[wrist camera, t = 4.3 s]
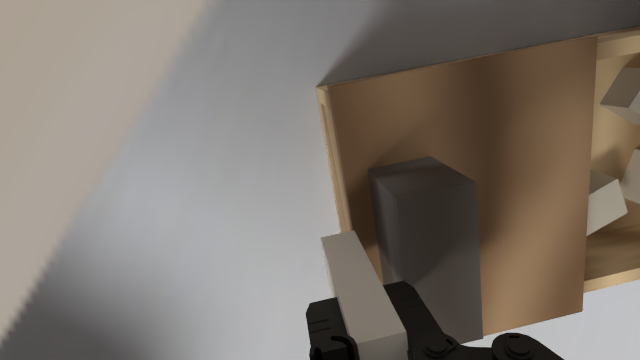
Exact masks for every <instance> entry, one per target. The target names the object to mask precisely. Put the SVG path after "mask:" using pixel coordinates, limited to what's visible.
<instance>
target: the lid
mask: <svg viewBox="0 0 640 360" xmlns="http://www.w3.org/2000/svg"><path fill="white" fill-rule="evenodd" d="M597 41H598V36H591V37H581V38H576V39H571V40H565V41H560V42H555V43H550V44H544V45H539V46H534V47H528V48H523V49H518V50H513V51H507V52H502V53H497V54H491V55H486V56H481V57H476V58H470V59H465V60H460V61H454V62H449V63H444V64H439V65H433V66H428V67H423V68H417V69H412V70H407V71H401V72H396V73H391V74H386V75H380V76H375V77H370V78H364V79H359V80H354V81H349V82H343V83H338V84H333V85H327V89H328V95H329V101H330V107H331V113H332V119H333V126H334V132H335V138H336V144H337V150H338V156H339V163H340V169H341V175H342V181H343V187H344V194H345V200H346V206H347V212H348V218H349V224H350V231H355V233H356V235H357V237H358V239H359V241H360V243H361V245H362V247H363V249H364V250H365V252H366V254H367V256H368V258H369V260H370V262H371V264H372V266H373V268H374V270H375V272H376V274H377V276H378V278H379V280H380V282H381V283H382V285H386V284H391V283H395V282H399V281H405V282H407V283H408V284H410V285H411V286H413V287H414V288H415V289H416V291H417V292H418V294H419V296H420V298H421V299H422V300H423V302H424V303H425V306H427V308H428V309H429V311H430V312H431V314H432V316H433V317H434V319H435V320H436V322H437V323H438V325H439V326H440V328H441V329H442V331H443V332H444V334H447V335H449V336H451V337H453V338H454V339H455V340H456V341H457V342H458V343H459V344H463V343H467V342H471V341H475V340H479V339H483V336H486V335H490V334H494V333H498V332H502V331H506V330H510V329H514V328H518V327H522V326H526V325H530V324H534V323H538V322H542V321H546V320H550V319H554V318H558V317H562V316H566V315H570V314H574V313H578V312H582V307H583V289H584V271H585V254H586V236H587V218H588V201H589V183H590V165H591V147H592V130H593V112H594V94H595V77H596V59H597Z"/></svg>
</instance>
